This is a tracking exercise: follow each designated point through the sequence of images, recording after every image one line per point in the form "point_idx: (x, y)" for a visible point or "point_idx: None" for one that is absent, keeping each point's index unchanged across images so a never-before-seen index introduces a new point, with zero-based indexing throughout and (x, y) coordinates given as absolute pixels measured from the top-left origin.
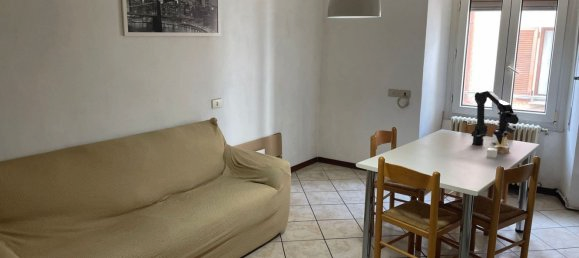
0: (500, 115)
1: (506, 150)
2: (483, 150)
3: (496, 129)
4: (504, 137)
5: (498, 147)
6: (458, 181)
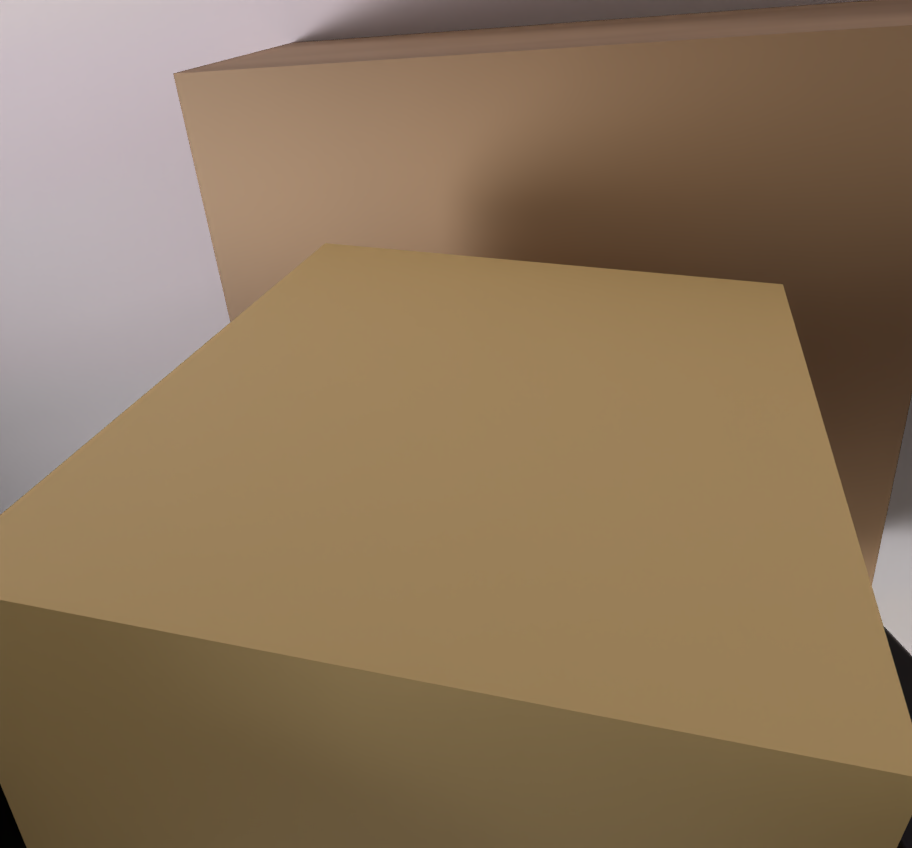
0: None
1: (849, 19)
2: None
3: None
4: (503, 793)
5: None
6: None
